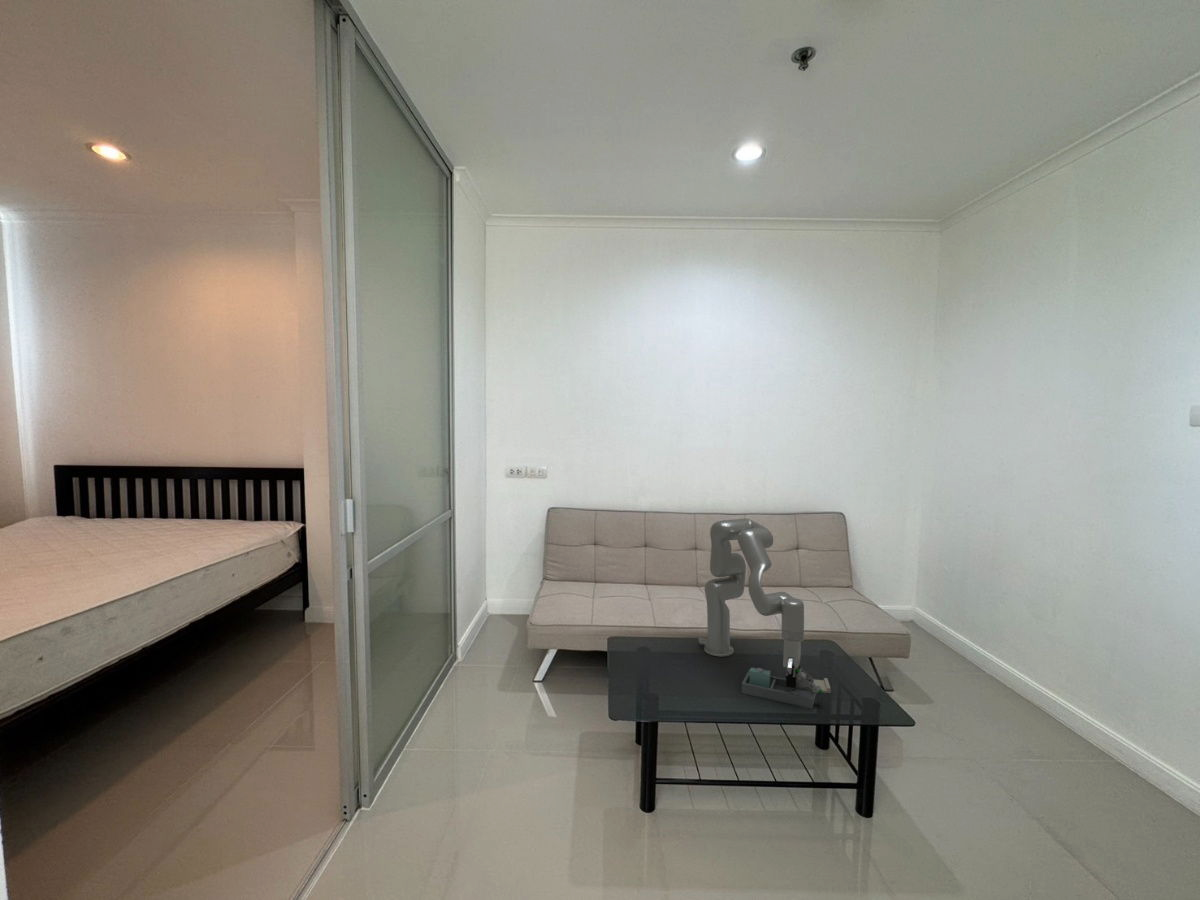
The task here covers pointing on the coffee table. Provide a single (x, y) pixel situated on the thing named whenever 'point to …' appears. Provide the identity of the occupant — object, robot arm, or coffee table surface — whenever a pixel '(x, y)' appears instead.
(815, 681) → the lid plate
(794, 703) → the housing
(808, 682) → the mechanical component
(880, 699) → the coffee table surface
